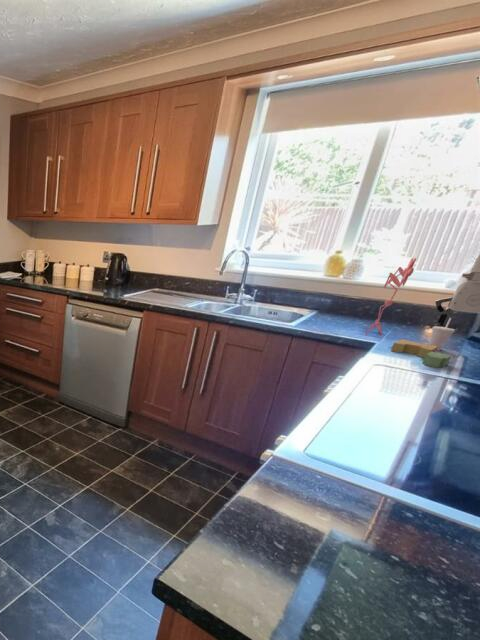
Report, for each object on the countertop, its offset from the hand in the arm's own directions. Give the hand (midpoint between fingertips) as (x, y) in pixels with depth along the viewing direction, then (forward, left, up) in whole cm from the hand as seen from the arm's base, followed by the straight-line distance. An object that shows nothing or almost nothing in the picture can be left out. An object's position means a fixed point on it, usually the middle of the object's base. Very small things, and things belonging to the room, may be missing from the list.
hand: (459, 327), depth 149 cm
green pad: (+2, -2, -14) cm, 15 cm away
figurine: (+25, -46, -15) cm, 55 cm away
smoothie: (+6, -29, -15) cm, 33 cm away
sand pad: (+10, -16, -14) cm, 24 cm away
